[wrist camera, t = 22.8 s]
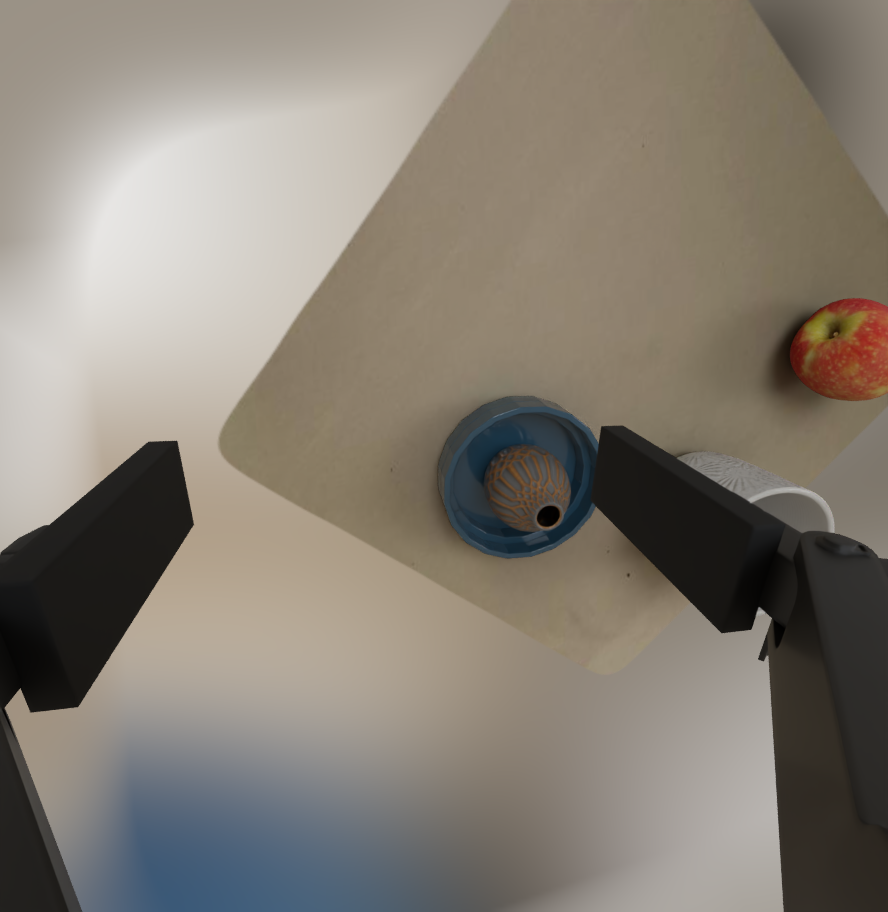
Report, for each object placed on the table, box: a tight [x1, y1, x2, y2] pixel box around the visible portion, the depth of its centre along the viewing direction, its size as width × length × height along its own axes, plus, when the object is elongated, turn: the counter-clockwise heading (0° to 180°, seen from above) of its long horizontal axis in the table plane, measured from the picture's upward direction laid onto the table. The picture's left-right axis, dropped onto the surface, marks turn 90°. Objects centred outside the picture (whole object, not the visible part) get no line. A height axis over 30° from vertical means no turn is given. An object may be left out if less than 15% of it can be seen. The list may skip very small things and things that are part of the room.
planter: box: [677, 451, 834, 616], centre depth 43 cm, size 12×12×11 cm
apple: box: [790, 298, 888, 401], centre depth 40 cm, size 8×8×8 cm
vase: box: [484, 444, 571, 532], centre depth 39 cm, size 7×7×9 cm
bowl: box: [438, 396, 599, 558], centre depth 42 cm, size 14×14×4 cm
